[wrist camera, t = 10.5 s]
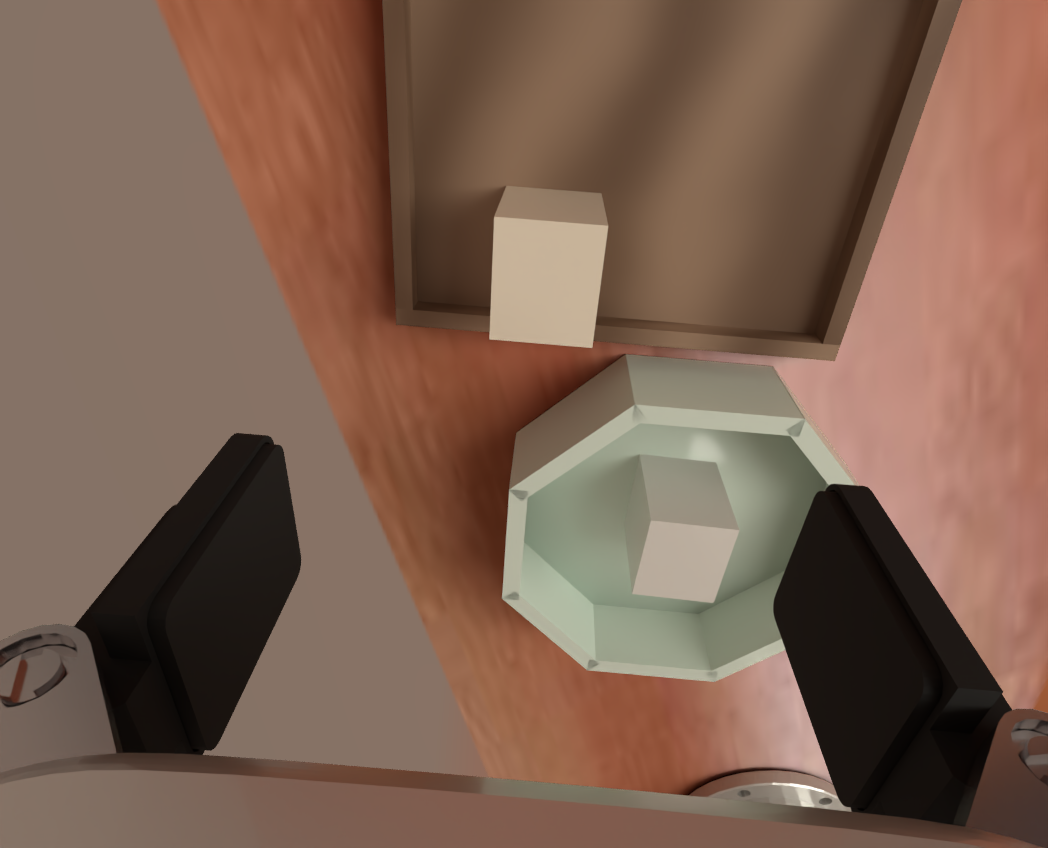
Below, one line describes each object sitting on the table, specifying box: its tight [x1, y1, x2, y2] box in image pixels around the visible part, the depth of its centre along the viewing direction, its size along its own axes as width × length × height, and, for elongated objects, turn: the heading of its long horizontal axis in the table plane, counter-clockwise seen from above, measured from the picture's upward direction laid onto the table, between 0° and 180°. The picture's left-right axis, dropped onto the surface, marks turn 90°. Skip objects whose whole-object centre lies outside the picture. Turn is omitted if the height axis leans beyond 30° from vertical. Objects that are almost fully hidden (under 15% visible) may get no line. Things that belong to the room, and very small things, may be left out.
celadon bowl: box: [502, 354, 860, 682], centre depth 30 cm, size 16×16×4 cm
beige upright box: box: [489, 186, 608, 348], centre depth 23 cm, size 4×4×5 cm
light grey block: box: [624, 454, 739, 603], centre depth 29 cm, size 4×4×5 cm
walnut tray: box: [382, 0, 962, 361], centre depth 23 cm, size 18×14×2 cm
